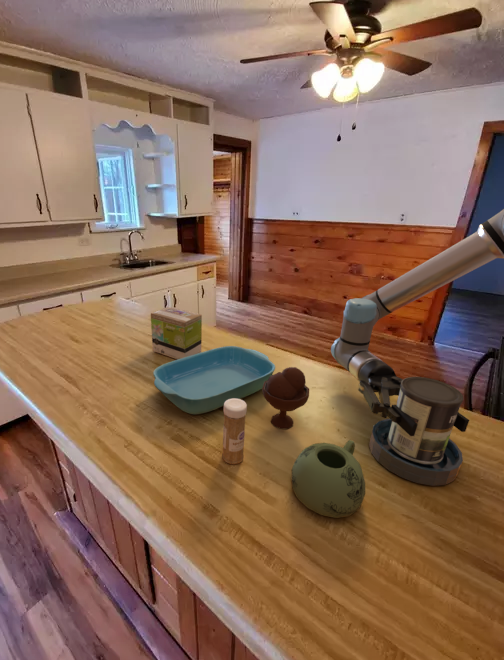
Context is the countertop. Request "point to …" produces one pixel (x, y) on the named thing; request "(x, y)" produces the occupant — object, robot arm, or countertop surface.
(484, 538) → the countertop surface
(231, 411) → the sprinkles bottle
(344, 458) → the green ceramic pot
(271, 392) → the ice cream bowl
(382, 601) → the countertop surface
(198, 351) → the tea box
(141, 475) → the countertop surface
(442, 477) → the dark blue round tray
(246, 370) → the casserole dish
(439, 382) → the coffee can
